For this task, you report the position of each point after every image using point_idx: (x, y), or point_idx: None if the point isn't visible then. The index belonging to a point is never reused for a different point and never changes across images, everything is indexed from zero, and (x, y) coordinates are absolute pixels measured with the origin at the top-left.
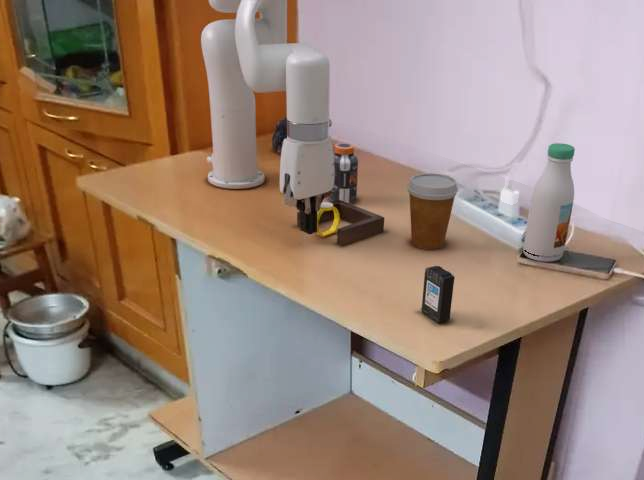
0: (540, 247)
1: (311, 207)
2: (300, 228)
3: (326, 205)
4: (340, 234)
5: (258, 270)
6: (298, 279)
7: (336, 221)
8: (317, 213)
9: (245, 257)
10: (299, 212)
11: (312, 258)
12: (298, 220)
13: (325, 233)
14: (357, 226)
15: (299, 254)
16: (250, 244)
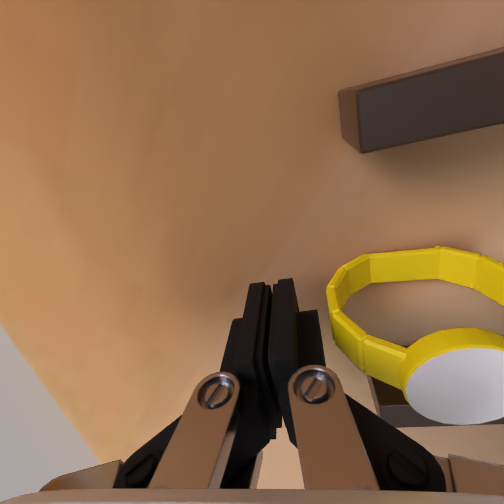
0: None
1: (291, 436)
2: (250, 288)
3: (459, 398)
4: (375, 402)
5: (40, 377)
6: (131, 445)
7: (496, 289)
8: (363, 353)
9: (6, 295)
10: (364, 114)
11: None
12: (346, 106)
13: (389, 272)
14: (485, 423)
15: (191, 353)
16: (33, 202)
